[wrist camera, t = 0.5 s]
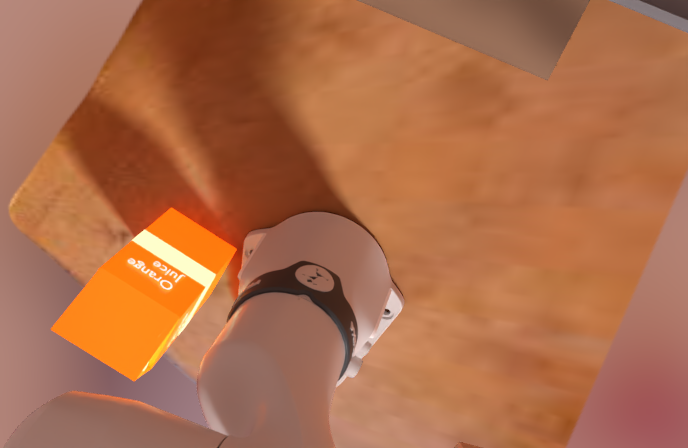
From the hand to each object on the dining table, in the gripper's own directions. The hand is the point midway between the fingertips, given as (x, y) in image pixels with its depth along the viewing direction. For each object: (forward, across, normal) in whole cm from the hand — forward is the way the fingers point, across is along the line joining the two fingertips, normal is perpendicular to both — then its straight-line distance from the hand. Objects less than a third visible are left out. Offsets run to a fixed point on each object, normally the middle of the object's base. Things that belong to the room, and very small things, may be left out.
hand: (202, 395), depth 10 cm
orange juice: (+50, -15, -38) cm, 65 cm away
